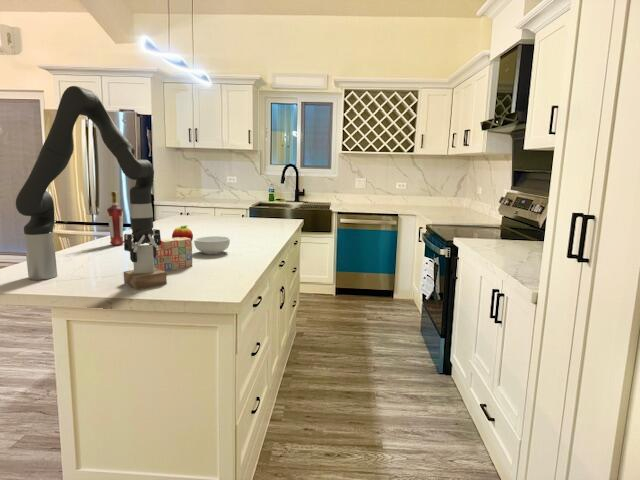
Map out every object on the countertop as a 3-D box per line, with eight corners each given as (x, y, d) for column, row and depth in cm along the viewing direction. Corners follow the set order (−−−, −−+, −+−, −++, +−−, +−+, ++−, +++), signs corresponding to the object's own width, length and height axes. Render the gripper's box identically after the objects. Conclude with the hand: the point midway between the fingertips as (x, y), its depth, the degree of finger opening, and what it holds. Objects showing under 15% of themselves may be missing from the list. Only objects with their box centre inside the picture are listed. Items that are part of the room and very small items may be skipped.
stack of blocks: (143, 274, 174) (141, 244, 171) (137, 271, 178) (135, 241, 176) (192, 266, 188) (191, 238, 186) (186, 263, 192) (185, 236, 190)
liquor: (109, 243, 231) (105, 191, 226) (124, 242, 235) (120, 191, 230) (110, 246, 225) (106, 192, 220) (125, 245, 229) (121, 192, 223)
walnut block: (124, 284, 161) (123, 271, 160) (153, 279, 168) (152, 266, 168) (137, 291, 153) (136, 277, 152) (166, 285, 161) (166, 272, 160)
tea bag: (153, 272, 159) (152, 245, 157) (134, 273, 157) (132, 246, 155) (154, 270, 163) (152, 243, 161) (134, 271, 161) (133, 244, 159)
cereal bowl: (234, 249, 222) (233, 236, 221) (223, 257, 206) (223, 242, 205) (202, 248, 224) (201, 235, 223) (189, 255, 208) (188, 241, 206)
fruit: (168, 245, 230) (167, 227, 228) (180, 242, 240) (179, 224, 238) (185, 247, 227) (184, 228, 225) (197, 243, 237) (196, 225, 235)
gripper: (150, 213, 164) (152, 254, 167) (117, 217, 152) (120, 262, 155) (164, 214, 161) (166, 257, 164) (131, 218, 148) (134, 265, 151)
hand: (144, 259), depth 159 cm, fingers open, 8 cm apart
